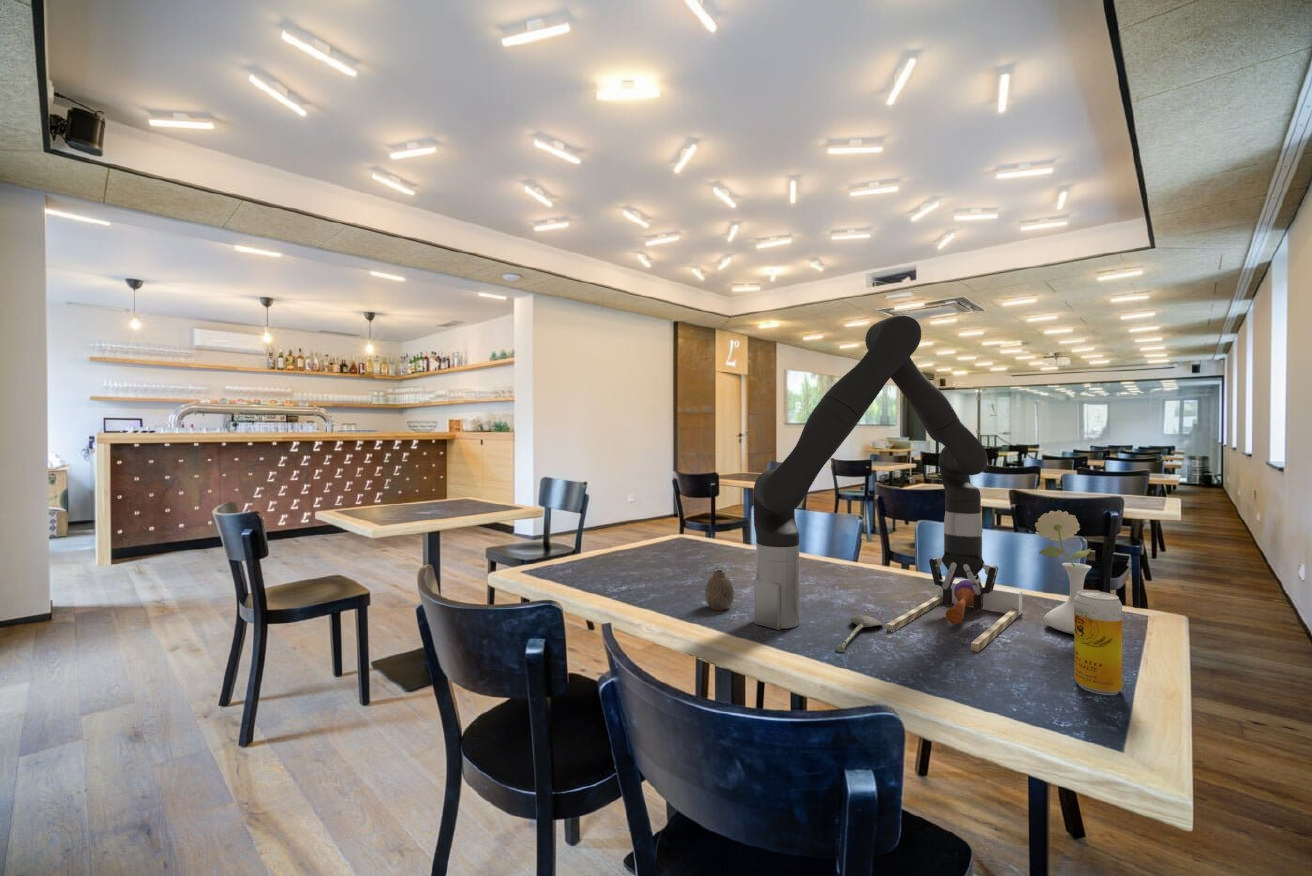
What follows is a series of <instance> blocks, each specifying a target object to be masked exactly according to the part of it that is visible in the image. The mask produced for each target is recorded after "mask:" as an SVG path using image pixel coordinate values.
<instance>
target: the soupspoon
mask: <svg viewBox="0 0 1312 876" xmlns="http://www.w3.org/2000/svg"><path fill="white" fill-rule="evenodd" d="M849 620H850V621H851V622H852V623H853V624H855V625H856V627H855V628H854V629H853V630H852V632H851V633H850V634H849V636H847V637H846V639H845V640H843V641H842V643H840V644H838V645H836V646H835V651H836V650H837V652H840V653H845V652H846V647H847V645H849V644H848V643H849V642H850V641H851V640H852V639H853V638H854V637H855V635H856V634H857V633H858V632H859V631H860V630H862V629H863V628H870V627H875V626H876V627H877V626H883V625H884V624H883V623H882V622H881V621H880V620H878V619H877V618H874V617H872V616H869V615H856V616H855V615H854V616H853V617H851V618H850V619H849Z"/></svg>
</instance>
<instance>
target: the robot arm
mask: <svg viewBox="0 0 1312 876" xmlns="http://www.w3.org/2000/svg"><path fill="white" fill-rule="evenodd" d="M921 339H922V328H921V325H920V323H919V322H918V320H917V319H916V318H914V317H912V316H911V315H907V314H897V315H894V316H893V315H892V316H890V317H887V318H884V319H882V320H880V321H877V322H875V323H874V324H872V325H871V326H870V327H869V328H868V329H867V331H866V335H865V340H864V341H865V346H866V349H867V351H866V353H865V355H864V356H863V357H862V359H861V360H859V362H858V363H857V364H855V366H854V367H852V369H850V370H849V371H848V372H847V373H846V374H845V375H843V376H842V377H841V378H839V380H838V381H836V382H835V383H834V384H833V385H832V386H831V387H830V388H829V389H828V390H827V391H826V393H825V394H824V395H823V396H822V398H821V399H820V400H819V402H818V403H817V404H816V406H814V408H813V410H812V412H811V413H810V414H809V416H808V418H807V420H806V422H805V424H804V427H803V429H802V431H801V434H800V435H799V437H798V438H799V439H798V441H797V442H796V445H795V446H794V448H793V449H792V451H791V452H790V453H789V455H787V456H786V457H785V459H784V460H783V462H782V463H780V465H778V467H777V468H776V469H768V470H765V471H764V472H761V474H760V475H758V477H757V478H756V480H755V482H754V484H753V485H754V486H753V494H752V495H753V496H752V497H753V499H752V500H753V502H752V503H753V525H754V526H753V528H754V532H755V545H756V546H755V547H756V549H755V551H756V552H755V555H756V556H755V573H756V575H755V577H756V579H754V580H753V589H754V590H753V592H754V593H753V599H754V600H753V607H754V608H753V617H754V618H753V620H754V621H753V623H754V624H755V625H759V626H763V627H767V628H770V629H773V630H782V629H792V628H796V627H797V626H799V625H800V532H799V529H798V526H797V522H796V518H795V517H796V516H795V515H796V514H795V510H796V509H797V508H798V507H799V506H800V505H801V503H802V501H804V498H806V495H807V493H808V491H809V490H810V488H811V486H812V484H814V481H815V479H816V478H817V477H818V474H819V473H820V472H821V471H822V469H823V467H825V465H826V464H827V462H828V461H829V460H830V459H831V458H832V457H833V456H834V454H835V453H836V451H837V450H839V448H840V446H841V445H842V444H843V442H844V441H845V440H846V439H847V438H848V436H849V435H850V434H851V432H852V431H853V430H854V429H855V427H856V426H857V425H858V424H859V423H860V421H861V419H862V418H863V417H864V415H865V413H866V412H867V411H868V409H869V408H870V406H871V405H872V404H873V403H874V401H875V400H876V398H877V397H878V395H880V393H881V391H882V389H884V387H885V385H886V384H887V382H889V380H892V382H893V383H894V385H895V386H896V387H897V388H898V390H899V391H900V392H901V394H902V395H903V397H905V399H906V401H908V403H909V404H910V407H911V408H912V410H913V411H914V413H915V414H916V416H917V417H918V419H919V421H920V422H921V424H922V426H923V428H924V429H925V431H926V432H927V434H928V435H929V437H930V438H931V440H933V441H935V442H937V443H939V444H942V445H943V446H944V447H943V448H942V449H941V451H940V453H939V457H938V469H939V472H940V477H941V482H942V485H943V486H942V487H943V488H944V492H945V495H944V497H945V498H944V499H945V501H944V502H945V504H944V505H945V506H944V507H945V509H944V510H945V511H944V512H945V514H944V519H943V520H944V521H943V554H942V557H936V556H935V557H933V558H930V559H929V560H928V561H929V562H928V563H929V567H930V571H931V575H932V579H933V580H932V581H933V584H934V585H935V586H938V585H939V586H941V587H942V588H943V603H944V604H945V606H947V607H952V606H953V605H952V588H951V585H952V583H953V581H955V580H956V578H962V579H964V580H969V581H970V584H971V585H972V587H973V589H974V592H975V594H974V608H973V611H974V612H976V613H977V612H978V613H979V611H980V610H983V609H982V607H983V594H988V593H990V592H992V591H993V588H994V587H995V584H996V579H997V576H998V573H999V572H998V571H999V567H998V566H997V565H992V564H991V565H990V564H988V563H985V561H984V560H983V530H984V529H983V520H982V513H981V509H982V508H981V506H982V505H981V504H982V503H981V501H982V499H981V497H982V496H981V495H982V494H981V491H980V489H979V488H978V487H976V486H975V485H973V484H972V483H971V480H970V479H971V478H970V476H976V475H980V474H982V473H983V472H985V470H986V469H987V466H988V462H989V459H988V453H987V451H986V449H985V447H984V446H983V444H982V443H981V442H980V440H979V439H978V438H977V437H976V436H975V435H974V434H973V433H972V432H971V431H970V429H968V427H966V426H965V425H964V424H963V423H962V422H961V420H960V418H959V416H958V414H957V413H956V411H955V409H954V408H953V406H952V404H951V403H950V401H949V400H948V398H947V397H946V396H945V394H944V393H943V392H942V391H941V390H940V389H939V388H938V387H937V386H936V385H935V384H934V383H933V382H932V381H930V380H929V379H928V378H927V376H925V375H924V374H923V373H922V372H921V370H920V368H918V366H917V365H916V364H915V362H914V360H913V359H912V357H911V356H913V354H914V353H915V352H916V350H917V349H918V347H919V346H920V343H921ZM942 564H943V565H944V567H945V568H946V569H947V573H946V575H945V578H943V575H942V570H941V568H942ZM983 569H984V574H985V575H986V580H985V583H984V585H985V587H982V585H983V584H982V580H981V578H980V575H979V573H980V572H981V571H982V570H983ZM943 579H945V580H943Z"/></svg>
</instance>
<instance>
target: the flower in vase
mask: <svg viewBox="0 0 1312 876" xmlns="http://www.w3.org/2000/svg"><path fill="white" fill-rule="evenodd" d="M1080 526H1081V525H1080V523H1079V522H1078V518H1076V515H1074V514H1069V512H1068V511H1062V510H1060V509H1058V510H1057V511H1054V510H1050V511H1049V512H1048V513H1047V512H1045V513H1043V514H1041V515H1040V517H1039V518H1037V522H1035V523H1034V527H1035V530H1036V531H1038V533H1037V534H1038V535H1039V536H1040V537H1042V538H1043V539H1047V538H1048V539H1049V540H1050V541H1057V542H1059V545H1060V548H1057V547H1055V546H1046V547H1045V548H1043V549H1041V550H1040V551H1039V552H1038V554H1039V555H1043V556H1048V557H1050V558H1051V557H1052V558H1056V557H1059V555H1061V554H1062V553H1063V554H1064V556H1065V557H1066V558H1067V560H1068V561H1069V562H1063V563H1061V566H1062V567H1063V568H1064V569H1065V571H1066V573H1067V577H1068V581H1069V597H1068V599H1067V600H1066V601H1065V602H1064V603H1062V604H1060V605H1058V606H1056V607H1055V608H1053V609H1051V610H1050V611H1048V612H1047V613H1045V614H1044V617H1043V620H1044V622H1045V623H1046V625H1048V626H1049V627H1050V628H1053V629H1054V630H1058V631H1060V632H1063V633H1068V634H1072V635H1074V598H1075V597H1076V595H1077V592H1078V591H1084V585H1085V580H1086V576H1087V574H1088V573H1089V571H1090V570H1091V569H1092V565H1089V564H1084V563H1078V562H1074V561H1072V560H1076V559H1077V560H1078V559H1082V558H1085V557H1086V556H1088V555H1089V554H1090V553H1091V550H1092V548H1088V549H1086V550H1080V551H1076V552H1074V553H1073V554H1072V555H1071V557H1070V556H1069V555H1068V554H1067V553H1066V552H1065V550H1064V547H1063V542H1062V541H1065V540H1067V539H1072V538H1074V537H1075V535H1076V534H1077V533H1078V531H1080V529H1081V527H1080Z"/></svg>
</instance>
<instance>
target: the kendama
mask: <svg viewBox="0 0 1312 876" xmlns="http://www.w3.org/2000/svg"><path fill="white" fill-rule="evenodd" d="M974 594H975V592H974V589H973V587H972V585H971V584H970V581H969V579H962V580H960V582H959V583H957V585H956V586H955V588H954V595H955V597H956V599H957V601H958V603H956V604H953V605H951V606H950V608H948V609H947V610H946V612H945V618H946V620H947V621H948V623H951V624H953V625H959V624H961V623H962V621H963V620H964V615H965V611H966V607H968V606H974Z"/></svg>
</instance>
